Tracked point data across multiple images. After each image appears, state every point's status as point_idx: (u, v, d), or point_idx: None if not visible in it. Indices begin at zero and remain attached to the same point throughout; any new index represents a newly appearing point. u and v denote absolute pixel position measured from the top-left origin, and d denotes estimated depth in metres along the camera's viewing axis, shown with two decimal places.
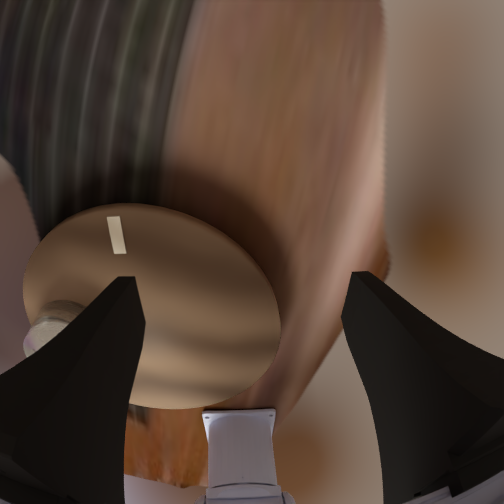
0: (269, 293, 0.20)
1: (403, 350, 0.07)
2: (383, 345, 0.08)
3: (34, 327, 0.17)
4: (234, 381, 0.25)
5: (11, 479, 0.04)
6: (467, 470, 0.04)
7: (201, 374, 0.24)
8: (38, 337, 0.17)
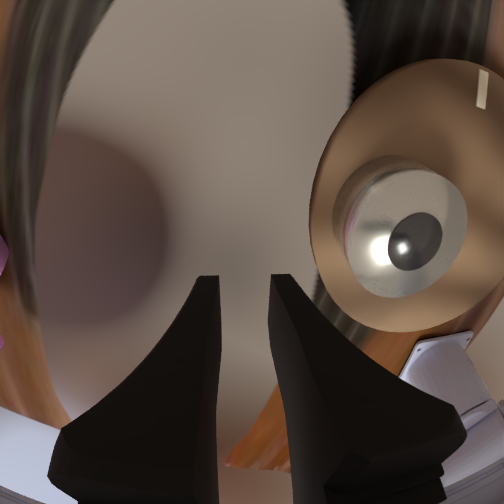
0: None
1: (298, 363, 0.07)
2: (288, 355, 0.08)
3: (399, 174, 0.13)
4: (492, 278, 0.20)
5: None
6: None
7: (477, 268, 0.20)
8: (409, 188, 0.13)
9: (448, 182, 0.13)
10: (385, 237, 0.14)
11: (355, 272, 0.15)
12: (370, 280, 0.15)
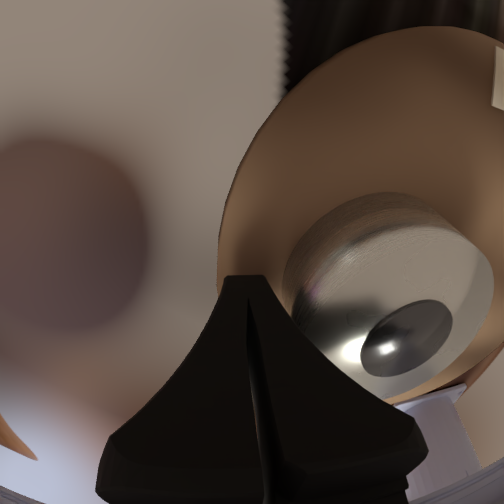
0: None
1: (260, 365, 0.07)
2: (255, 356, 0.08)
3: (388, 240, 0.07)
4: (495, 338, 0.15)
5: None
6: None
7: None
8: (404, 267, 0.07)
9: (472, 249, 0.07)
10: (357, 341, 0.08)
11: None
12: None
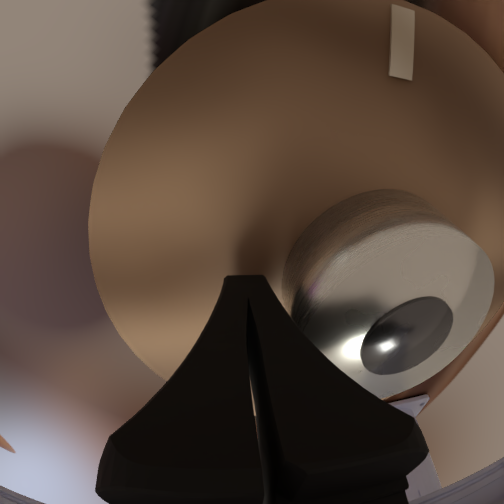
0: None
1: (260, 365, 0.07)
2: (255, 357, 0.08)
3: (384, 238, 0.07)
4: None
5: None
6: None
7: None
8: (401, 264, 0.07)
9: (470, 244, 0.07)
10: (356, 340, 0.08)
11: None
12: None
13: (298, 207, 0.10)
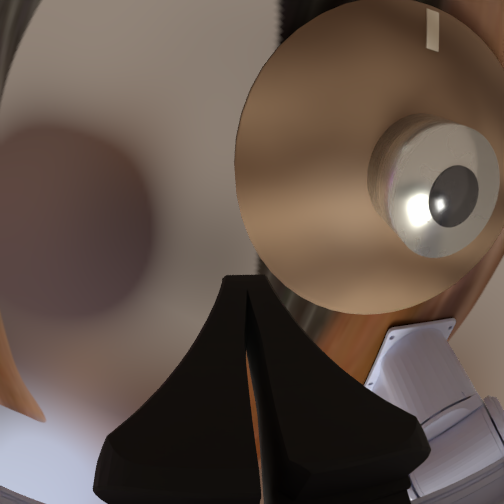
0: None
1: (262, 365, 0.07)
2: (257, 356, 0.08)
3: (436, 126, 0.12)
4: (470, 253, 0.19)
5: None
6: None
7: None
8: (447, 139, 0.11)
9: (481, 136, 0.11)
10: (426, 190, 0.13)
11: (398, 228, 0.14)
12: (412, 237, 0.14)
13: (379, 118, 0.14)
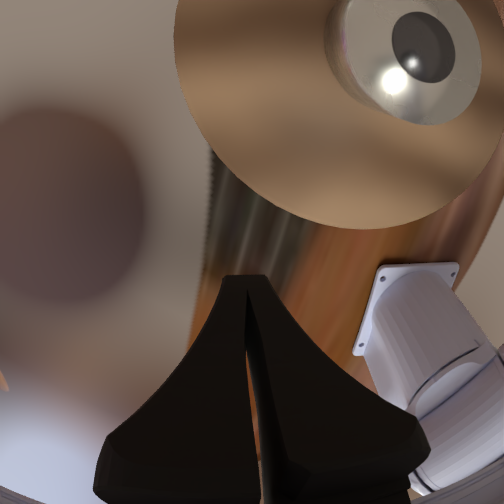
0: None
1: (262, 365, 0.07)
2: (257, 356, 0.08)
3: None
4: (466, 161, 0.15)
5: None
6: None
7: (438, 137, 0.15)
8: None
9: None
10: (387, 32, 0.09)
11: (359, 73, 0.10)
12: (381, 88, 0.10)
13: None
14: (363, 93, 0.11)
